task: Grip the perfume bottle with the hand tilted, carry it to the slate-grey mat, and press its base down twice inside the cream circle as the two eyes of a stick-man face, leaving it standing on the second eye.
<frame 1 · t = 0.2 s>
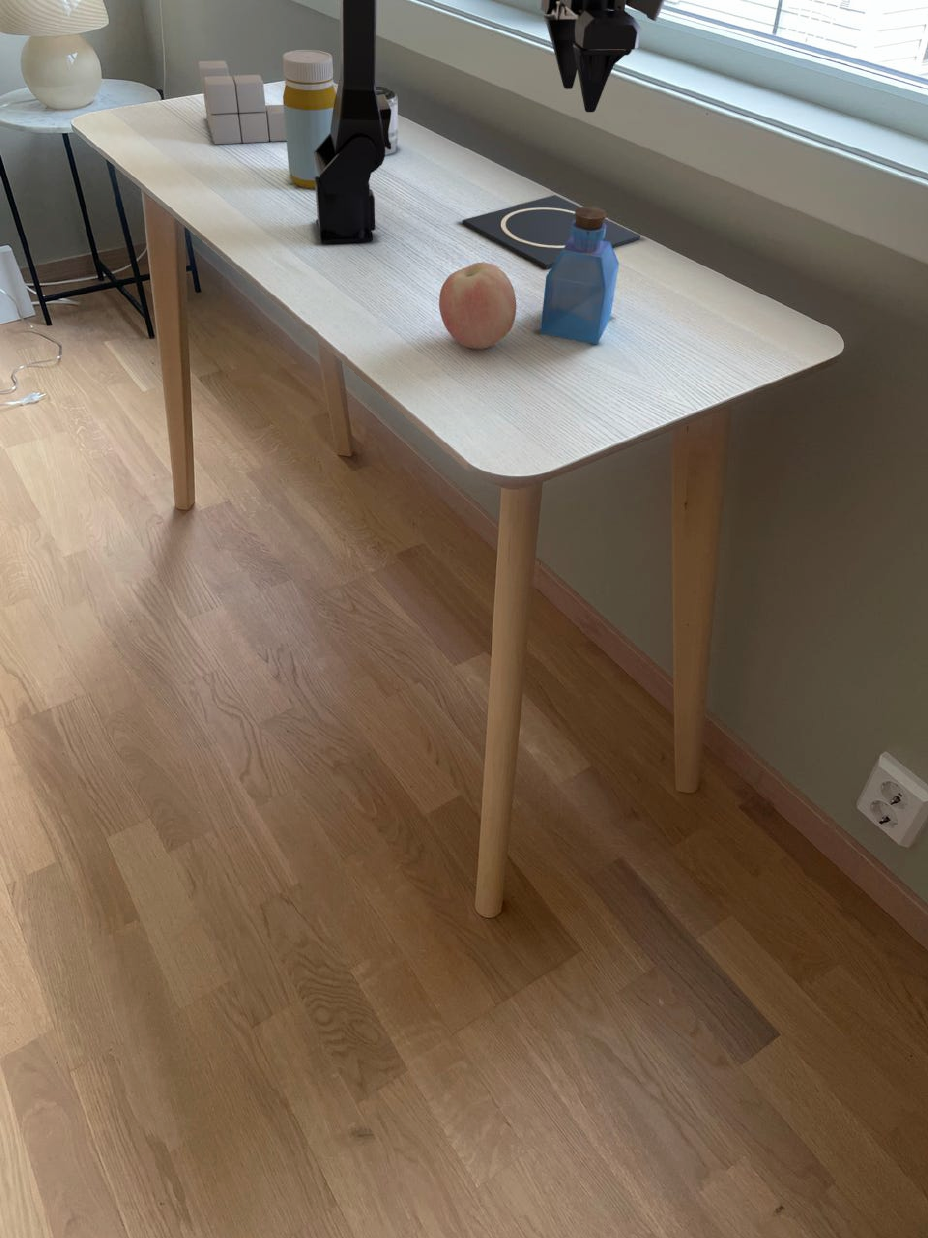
hand: (578, 99, 109), 15 cm above the table, tool pointing down, fingers open, 9 cm apart
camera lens: (377, 150, 137), on the table
apple: (475, 344, 96), on the table
perfume bottle: (575, 327, 100), on the table
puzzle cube: (250, 130, 141), on the table
bottle: (316, 182, 127), on the table
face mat: (550, 231, 118), on the table
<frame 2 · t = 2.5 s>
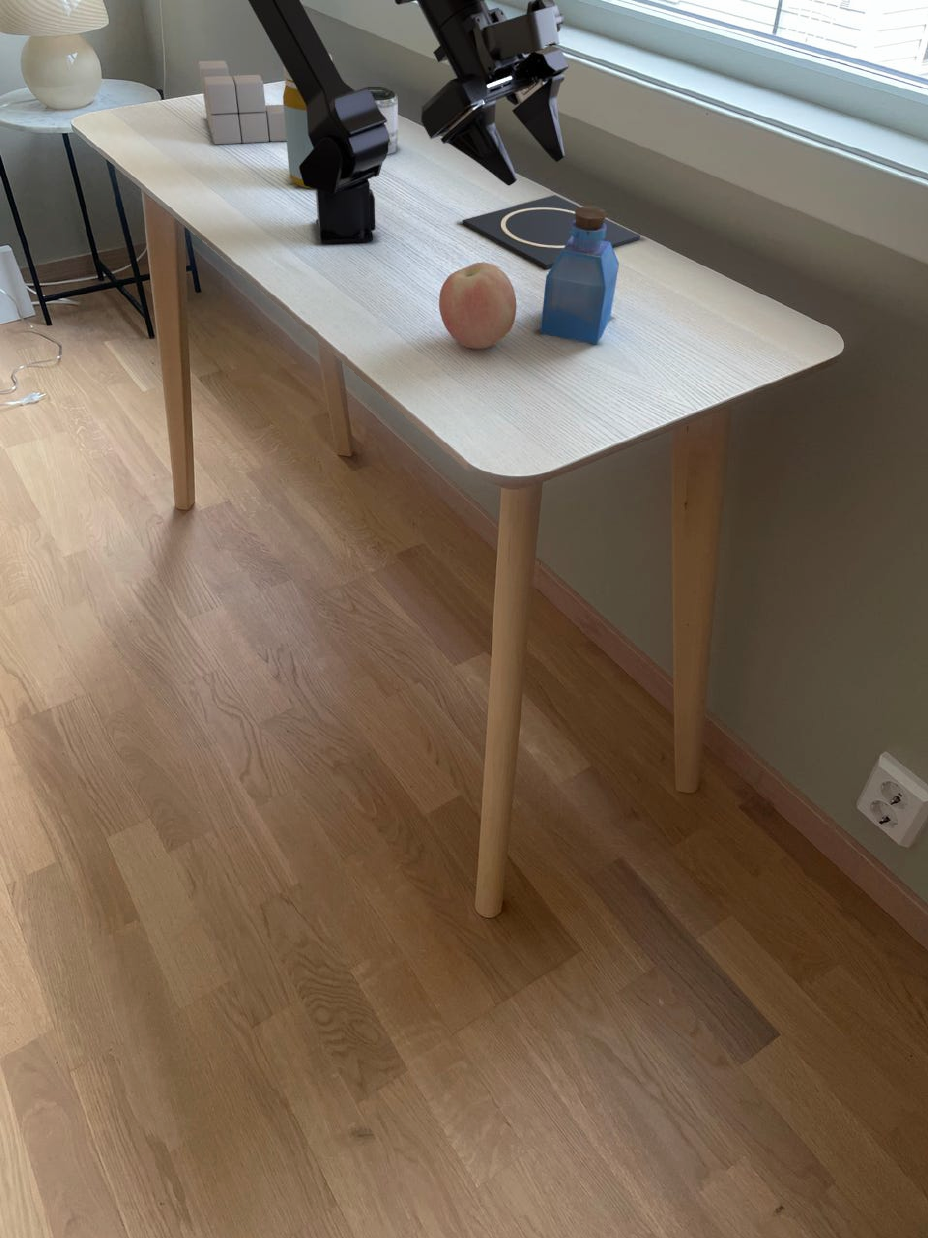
hand: (537, 170, 95), 13 cm above the table, tool tilted 40°, fingers open, 9 cm apart
nothing on the table moved.
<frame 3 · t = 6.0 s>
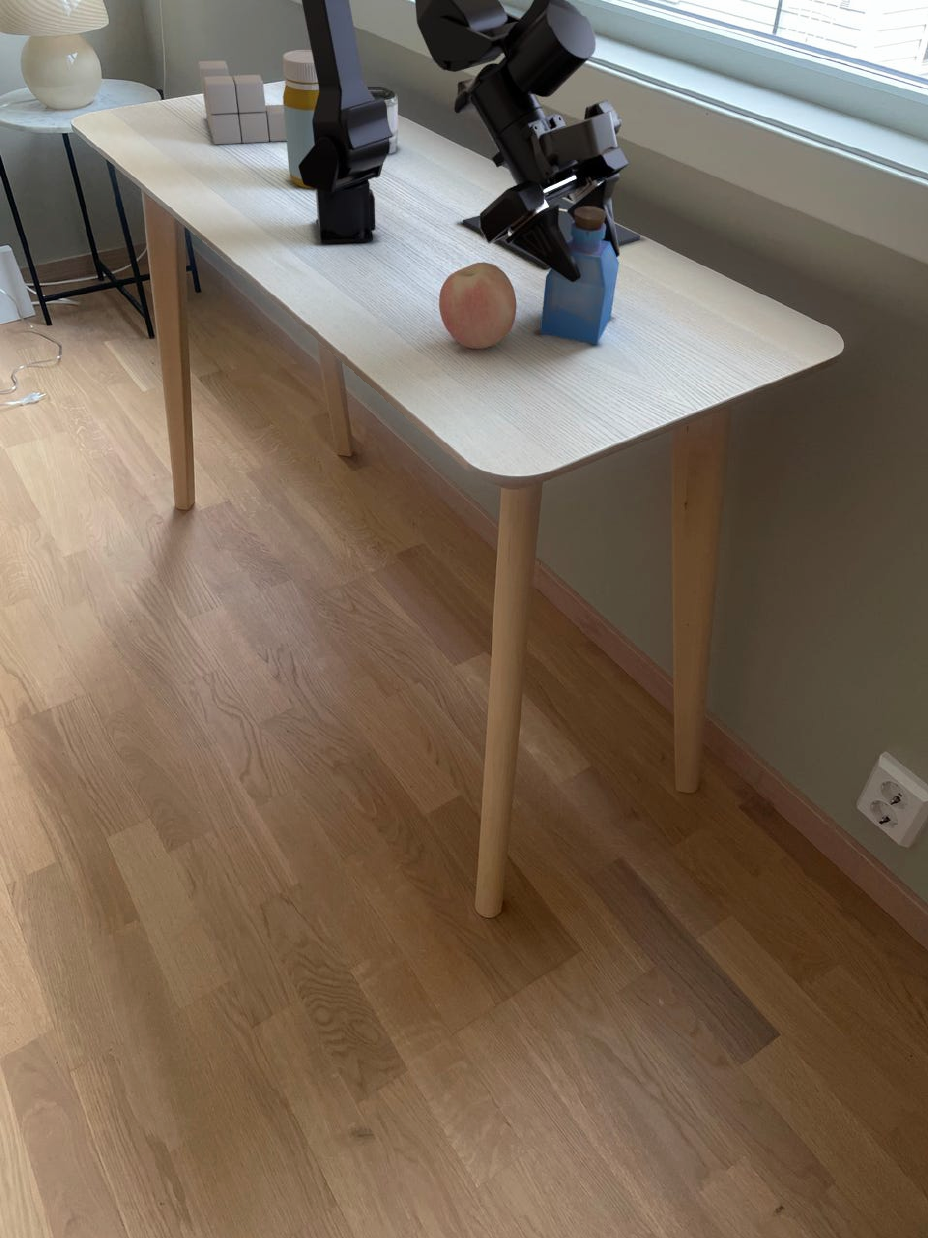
hand: (596, 268, 94), 7 cm above the table, tool tilted 45°, fingers closed on perfume bottle, 7 cm apart
perfume bottle: (575, 327, 100), on the table, touching gripper
everything else where it was.
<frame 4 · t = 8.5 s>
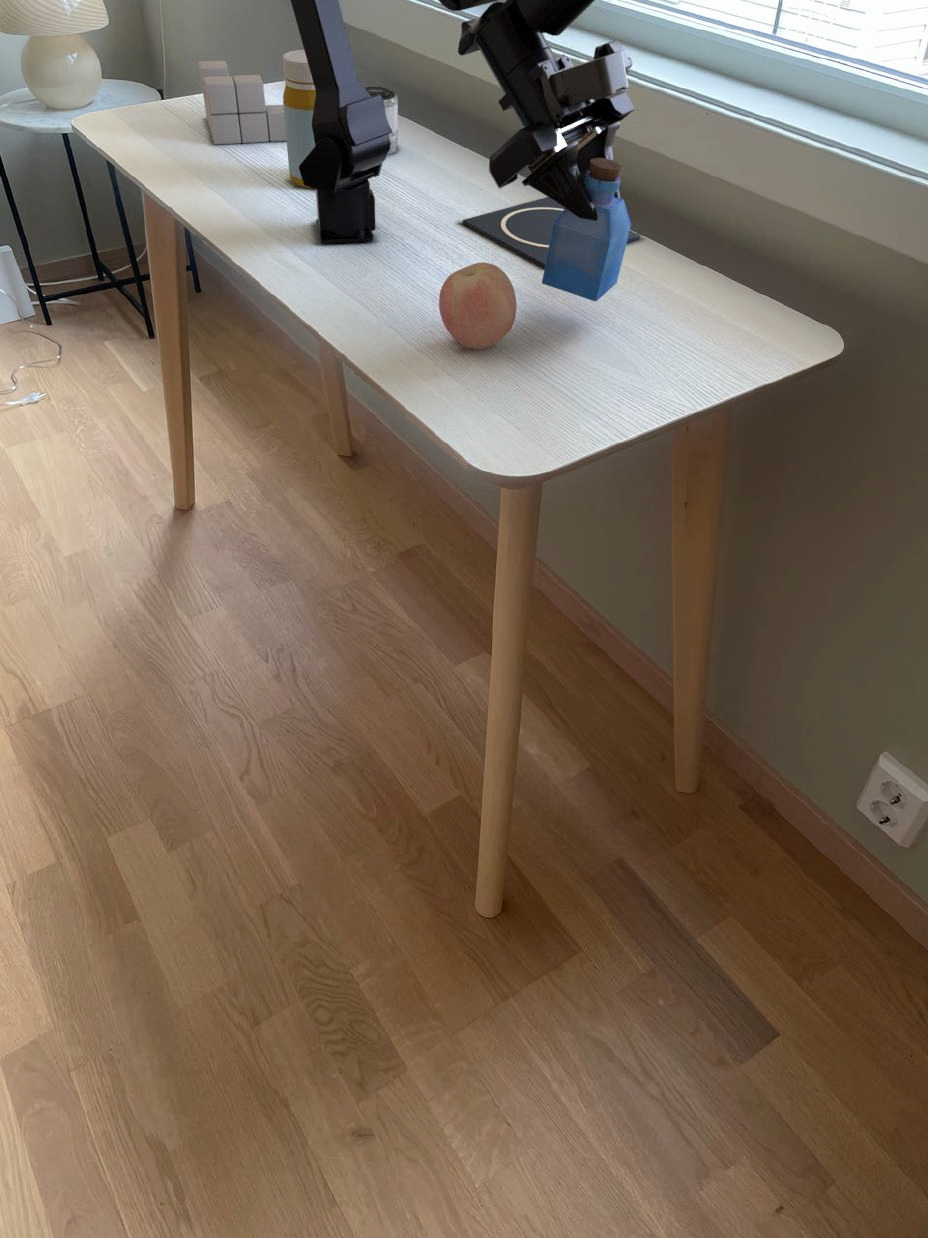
hand: (606, 215, 93), 11 cm above the table, tool tilted 45°, fingers closed on perfume bottle, 4 cm apart
perfume bottle: (579, 285, 98), point 4 cm above the table, touching gripper
everything else where it was.
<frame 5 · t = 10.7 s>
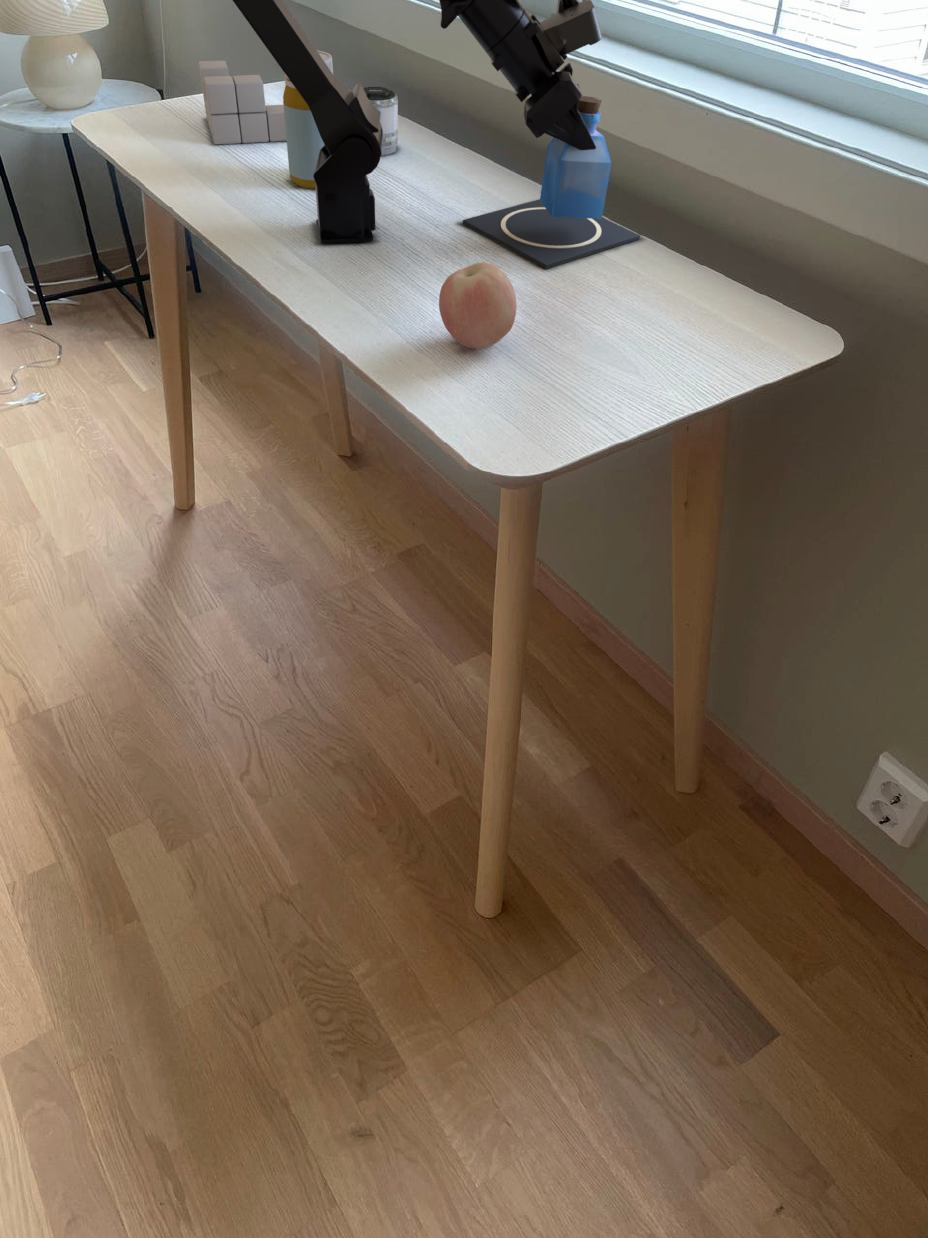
hand: (590, 144, 108), 11 cm above the table, tool tilted 45°, fingers closed on perfume bottle, 4 cm apart
perfume bottle: (570, 211, 113), point 4 cm above the table, touching gripper
everything else where it was.
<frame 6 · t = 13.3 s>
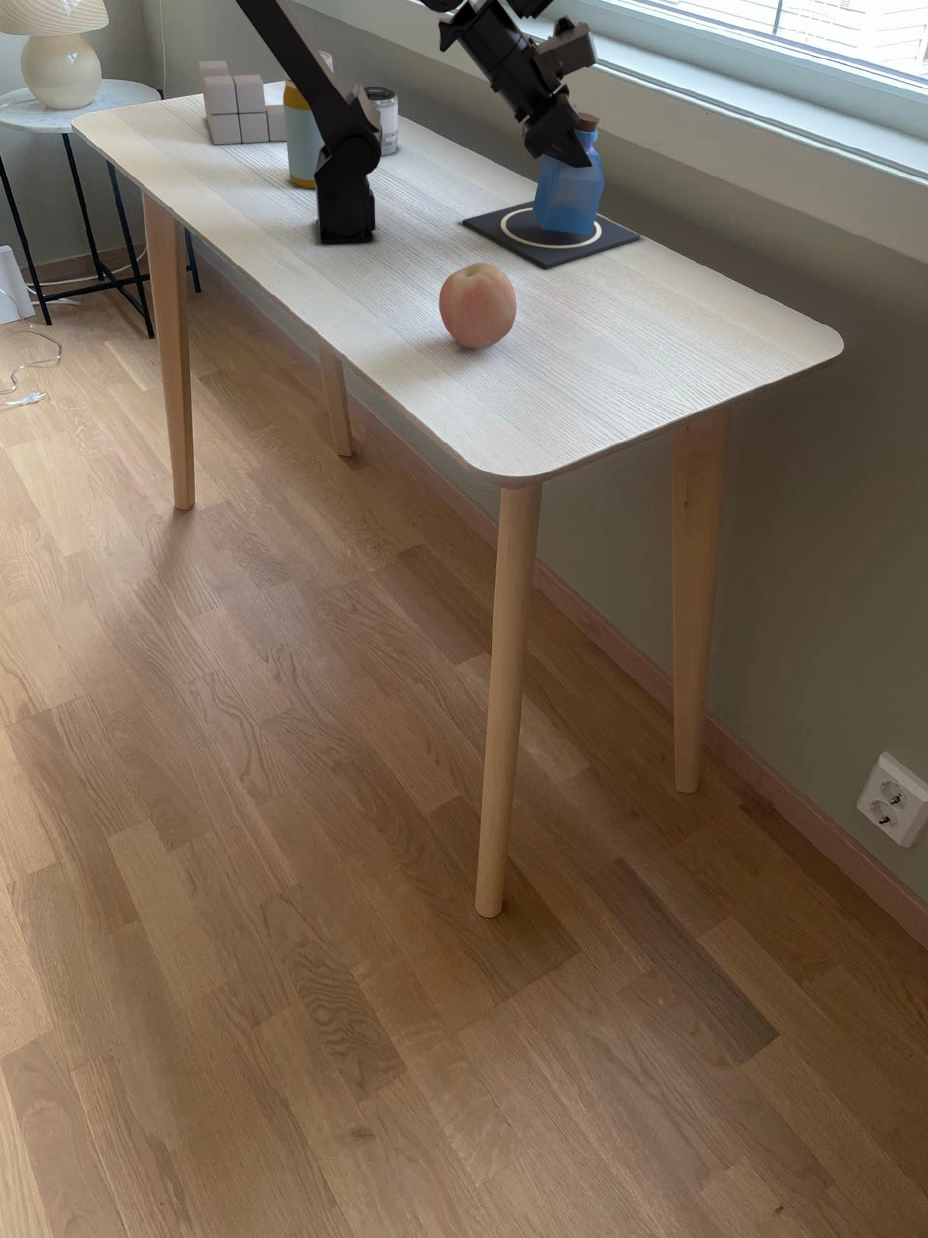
hand: (587, 163, 110), 9 cm above the table, tool tilted 45°, fingers closed on perfume bottle, 4 cm apart
perfume bottle: (560, 223, 114), point 2 cm above the table, touching gripper
everything else where it was.
when the fingers open (8 cm above the table, at t = 15.4 s): perfume bottle stays where it is, resting on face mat.
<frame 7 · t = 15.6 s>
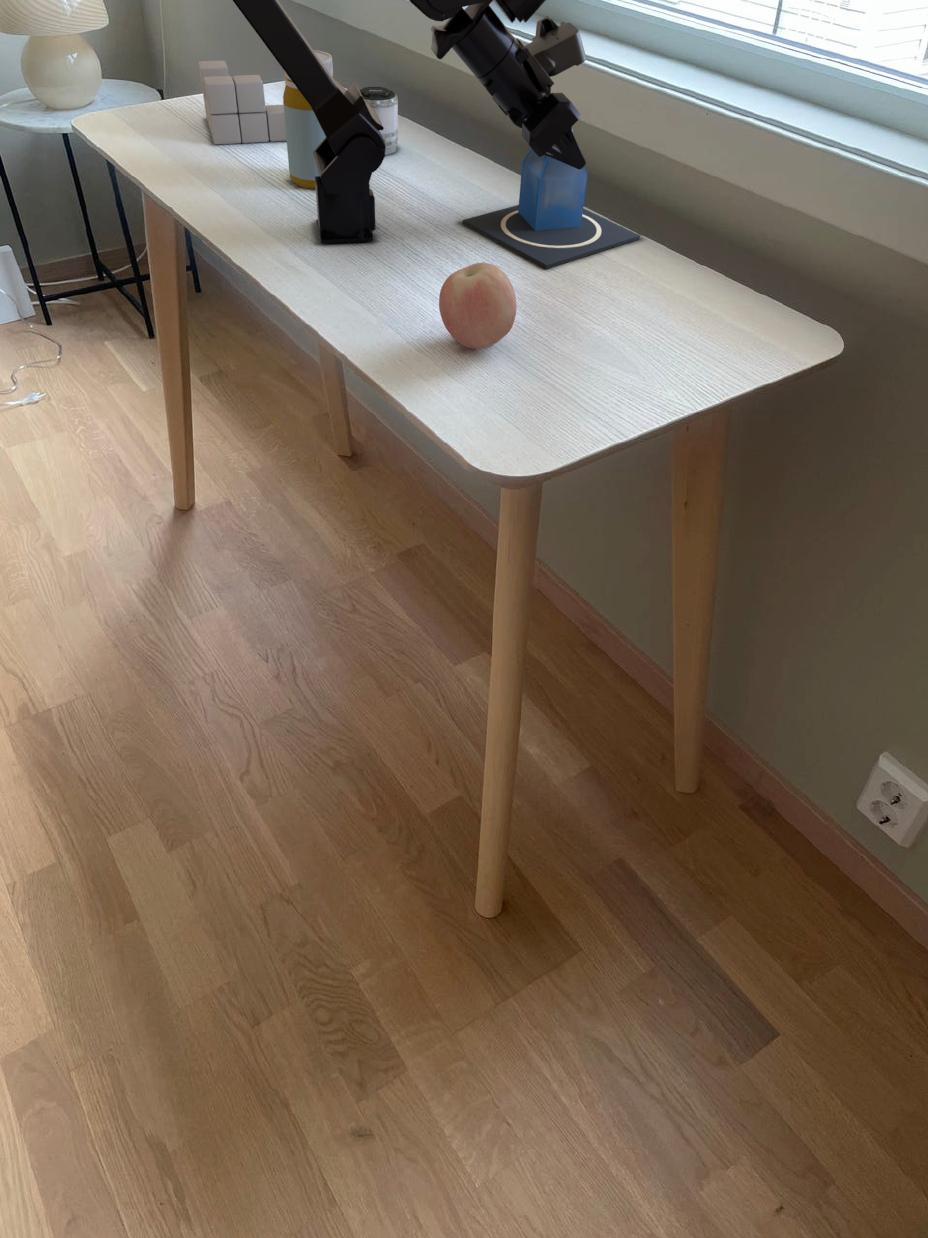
hand: (574, 156, 114), 8 cm above the table, tool tilted 45°, fingers open, 6 cm apart
perfume bottle: (548, 220, 119), resting on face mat
everything else where it was.
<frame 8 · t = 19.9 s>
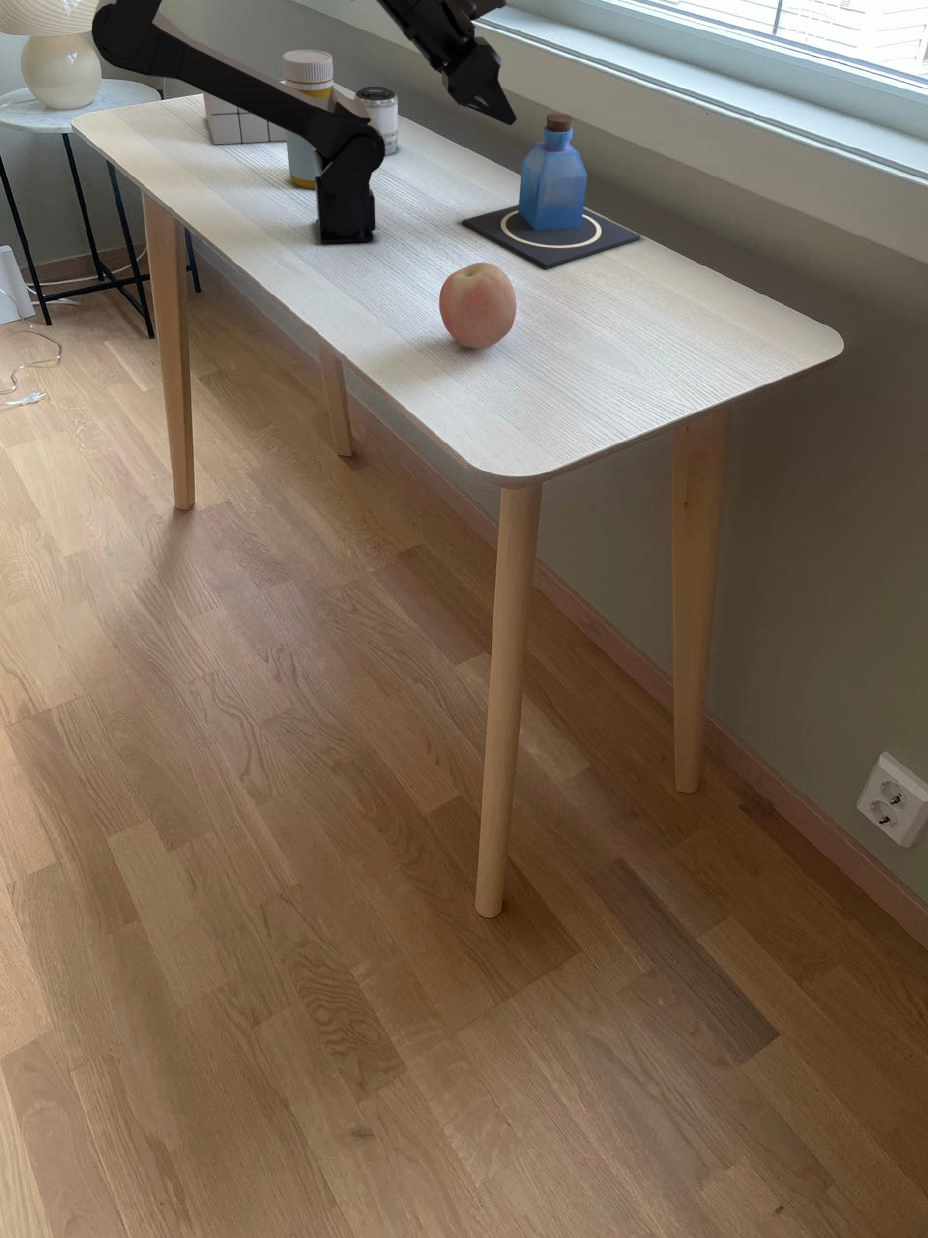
hand: (504, 109, 108), 14 cm above the table, tool tilted 45°, fingers open, 9 cm apart
nothing on the table moved.
at the end: perfume bottle 1.2 cm from the target spot on the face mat, point 0.4 cm above the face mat's base; perfume bottle tilted 0°; the gripper is holding nothing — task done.
